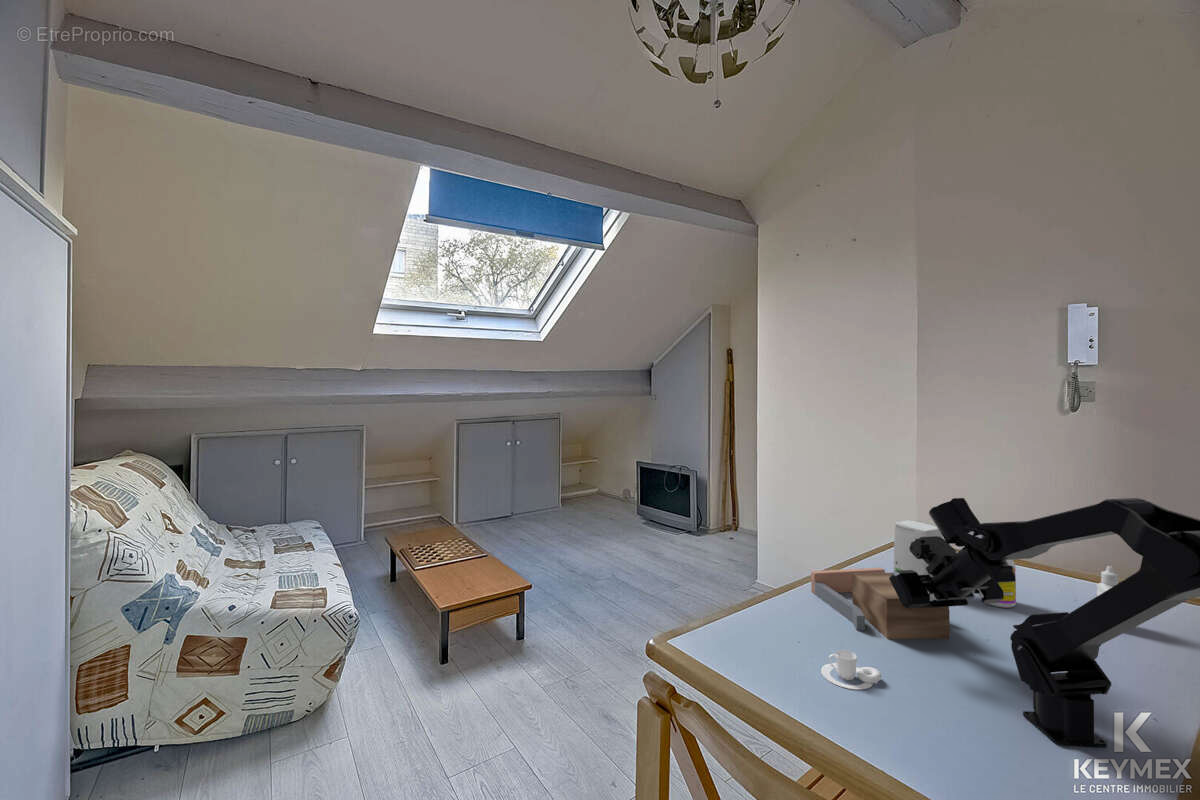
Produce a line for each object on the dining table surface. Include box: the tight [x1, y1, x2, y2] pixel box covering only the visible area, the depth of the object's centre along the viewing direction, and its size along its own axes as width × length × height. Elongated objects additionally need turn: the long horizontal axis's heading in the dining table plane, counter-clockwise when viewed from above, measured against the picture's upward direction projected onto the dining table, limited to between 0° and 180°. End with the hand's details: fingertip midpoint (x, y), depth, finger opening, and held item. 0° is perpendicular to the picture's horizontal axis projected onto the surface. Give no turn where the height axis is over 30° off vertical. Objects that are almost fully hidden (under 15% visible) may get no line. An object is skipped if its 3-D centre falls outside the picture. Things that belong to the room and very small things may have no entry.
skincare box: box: [892, 519, 943, 577], centre depth 122 cm, size 8×7×16 cm
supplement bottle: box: [978, 559, 1017, 609], centre depth 113 cm, size 7×7×13 cm
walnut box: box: [851, 572, 950, 640], centre depth 104 cm, size 14×12×8 cm
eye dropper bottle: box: [1096, 565, 1119, 597], centre depth 101 cm, size 4×6×12 cm
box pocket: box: [810, 567, 951, 632], centre depth 111 cm, size 20×20×5 cm
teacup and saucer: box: [820, 649, 882, 691], centre depth 84 cm, size 9×8×4 cm
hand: (922, 604), depth 97 cm, fingers closed
